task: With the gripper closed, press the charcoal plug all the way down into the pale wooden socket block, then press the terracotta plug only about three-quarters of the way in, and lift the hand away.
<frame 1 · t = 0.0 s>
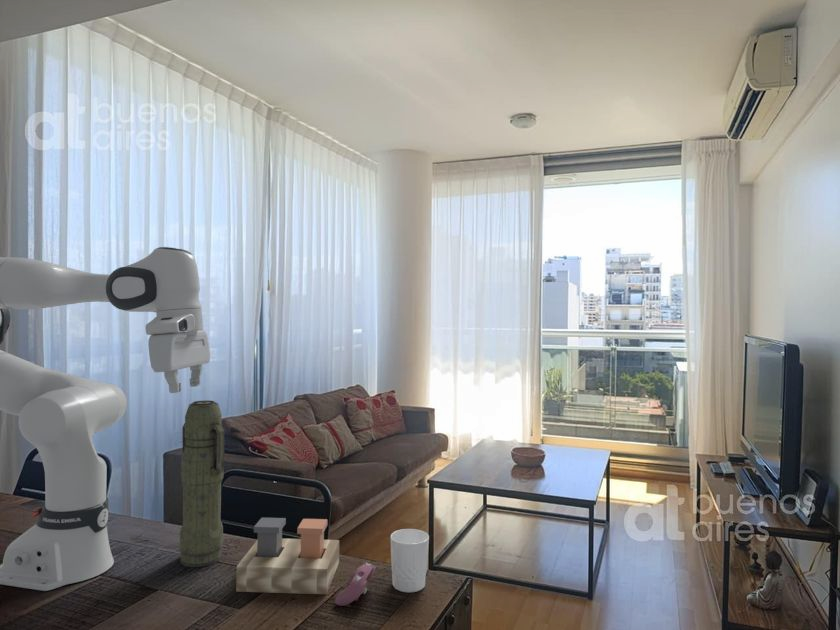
hand: (185, 389, 118), 39 cm above the table, tool pointing down, fingers open, 8 cm apart
white cup: (408, 585, 115), on the table
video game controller: (356, 596, 110), on the table
terracotta plug: (312, 539, 117), point 8 cm above the table, slide at 0.0 cm
thermos: (201, 559, 125), on the table
socket block: (290, 576, 117), on the table
charcoal plug: (269, 538, 117), point 8 cm above the table, slide at 0.0 cm
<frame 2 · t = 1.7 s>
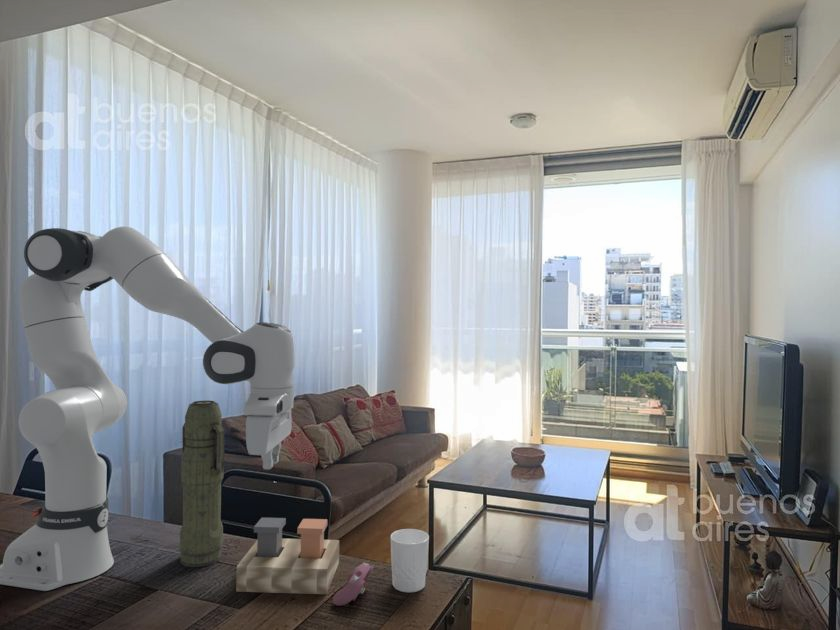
hand: (270, 465, 117), 23 cm above the table, tool pointing down, fingers open, 3 cm apart
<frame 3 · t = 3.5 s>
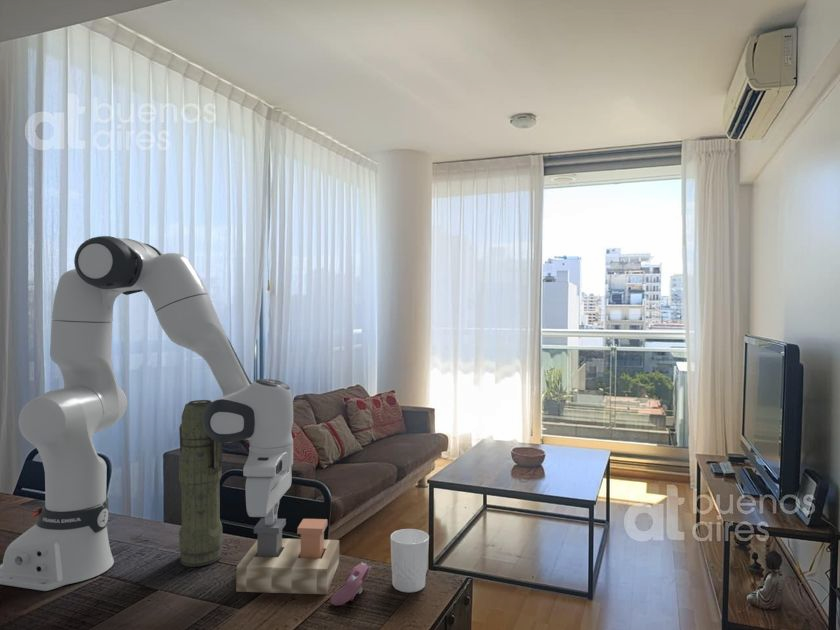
hand: (271, 522, 117), 11 cm above the table, tool pointing down, fingers closed, pressing on charcoal plug
charcoal plug: (269, 538, 117), point 8 cm above the table, slide at 0.1 cm, touching gripper
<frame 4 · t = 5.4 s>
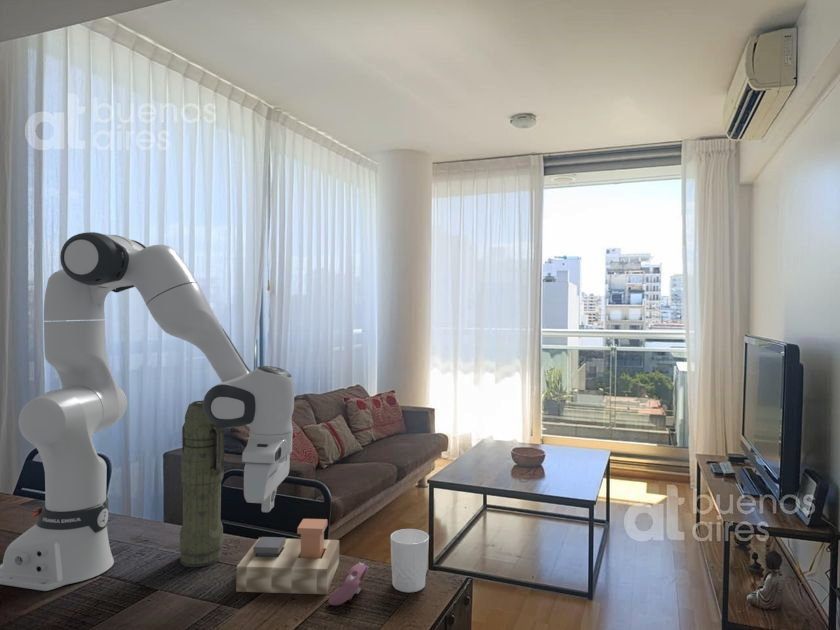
hand: (267, 509, 117), 14 cm above the table, tool pointing down, fingers closed
charcoal plug: (269, 558, 117), point 4 cm above the table, slide at 4.2 cm
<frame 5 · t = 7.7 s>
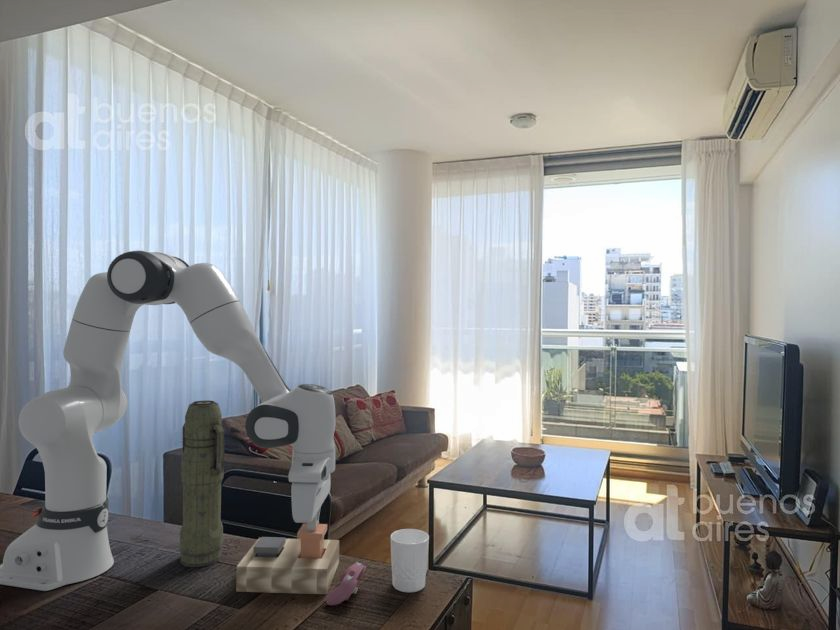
hand: (313, 528, 117), 10 cm above the table, tool pointing down, fingers closed, pressing on terracotta plug
terracotta plug: (312, 544, 117), point 7 cm above the table, slide at 1.0 cm, touching gripper
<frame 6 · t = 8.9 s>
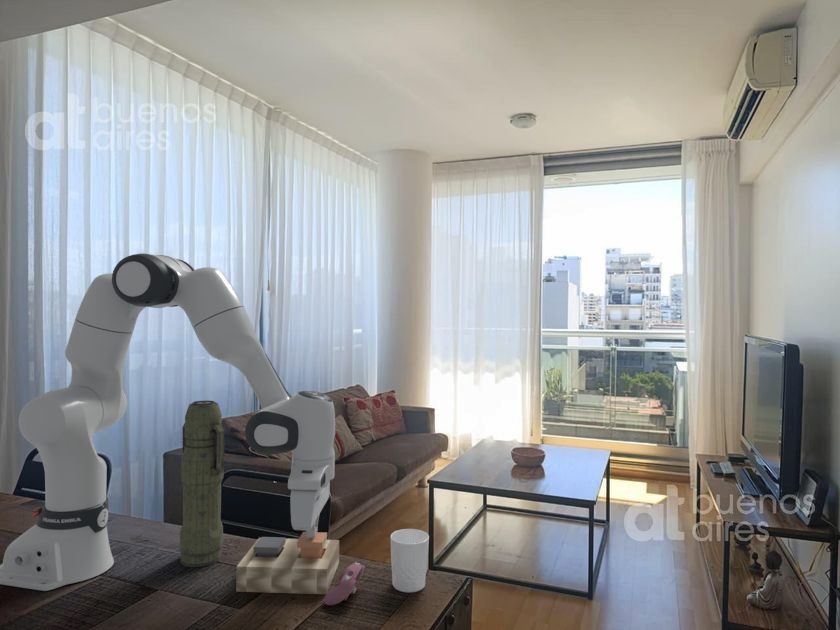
hand: (311, 535, 117), 9 cm above the table, tool pointing down, fingers closed
terracotta plug: (312, 553, 117), point 5 cm above the table, slide at 2.8 cm
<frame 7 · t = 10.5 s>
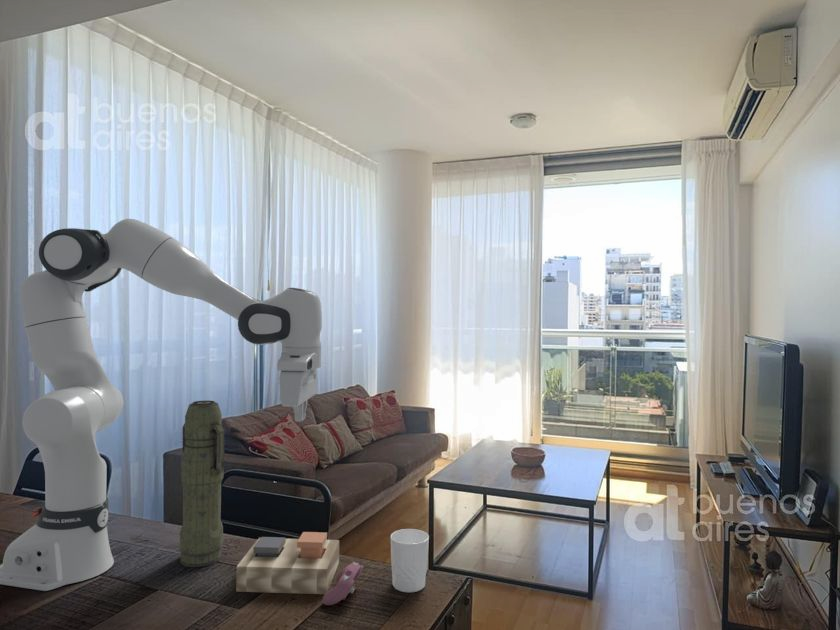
hand: (300, 420, 127), 31 cm above the table, tool pointing down, fingers closed
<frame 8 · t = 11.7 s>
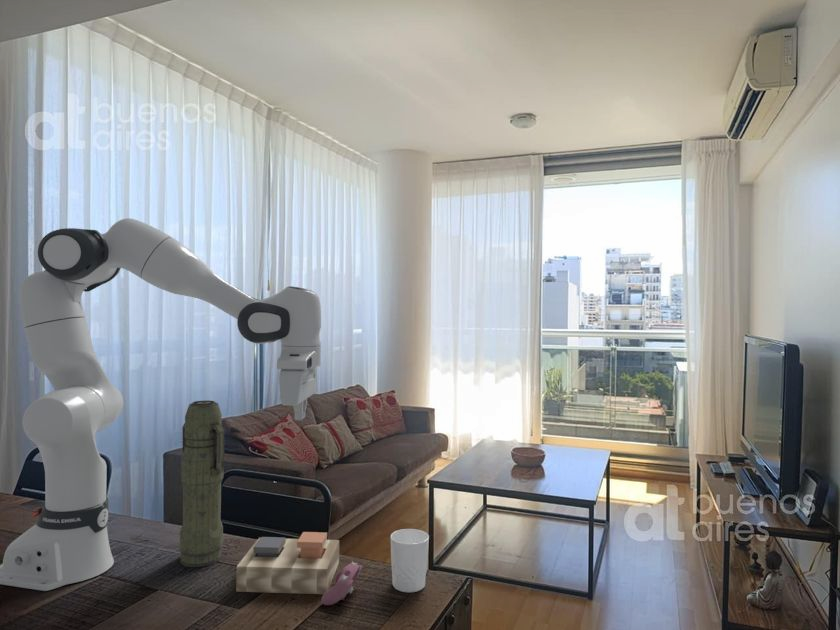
hand: (299, 419, 127), 31 cm above the table, tool pointing down, fingers closed
at the end: charcoal plug slide at 4.2 cm; terracotta plug slide at 2.8 cm; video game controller moved 2.9 cm from its start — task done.
